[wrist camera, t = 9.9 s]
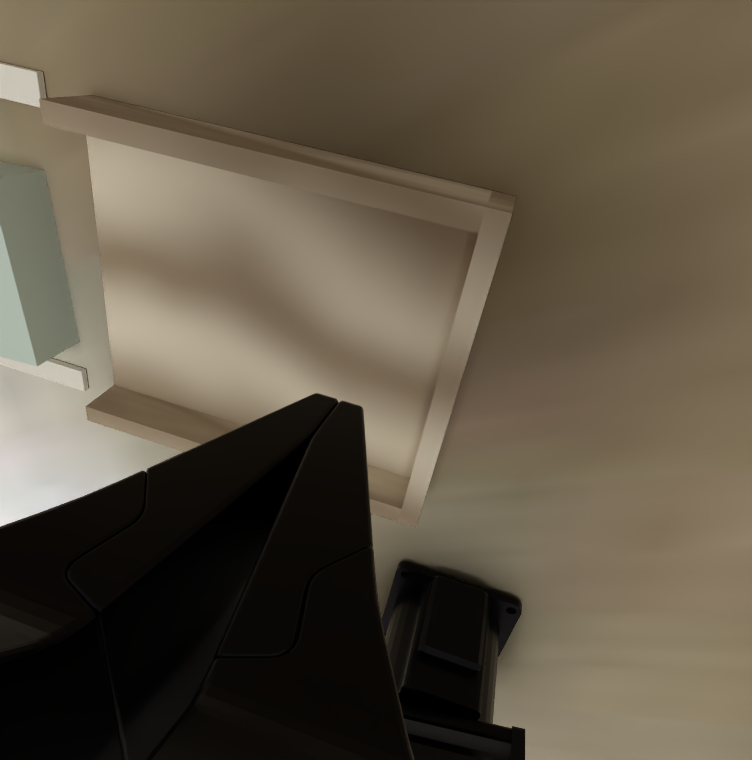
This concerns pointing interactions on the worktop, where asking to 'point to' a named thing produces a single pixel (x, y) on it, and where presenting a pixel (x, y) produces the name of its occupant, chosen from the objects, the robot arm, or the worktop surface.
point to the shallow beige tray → (281, 285)
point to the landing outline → (28, 90)
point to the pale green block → (31, 271)
